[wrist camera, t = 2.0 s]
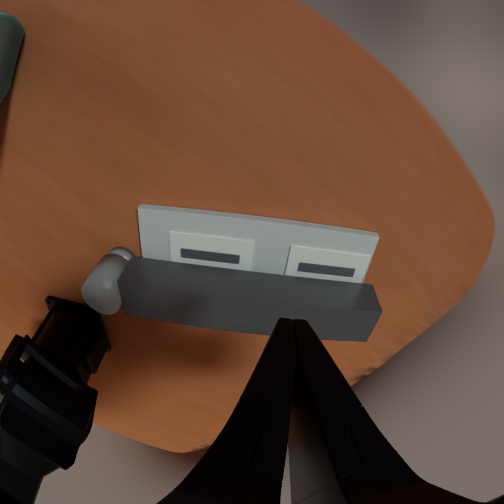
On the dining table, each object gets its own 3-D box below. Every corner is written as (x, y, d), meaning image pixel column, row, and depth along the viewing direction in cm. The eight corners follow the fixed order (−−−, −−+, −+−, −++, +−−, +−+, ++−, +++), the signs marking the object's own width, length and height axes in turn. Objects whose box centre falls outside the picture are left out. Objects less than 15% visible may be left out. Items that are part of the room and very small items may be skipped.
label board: (119, 304, 25) (115, 311, 24) (99, 200, 19) (93, 206, 18) (337, 332, 25) (339, 340, 24) (376, 232, 19) (380, 239, 18)
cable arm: (104, 282, 22) (86, 310, 19) (96, 251, 20) (76, 277, 17) (359, 314, 22) (367, 346, 19) (372, 284, 20) (383, 316, 17)
